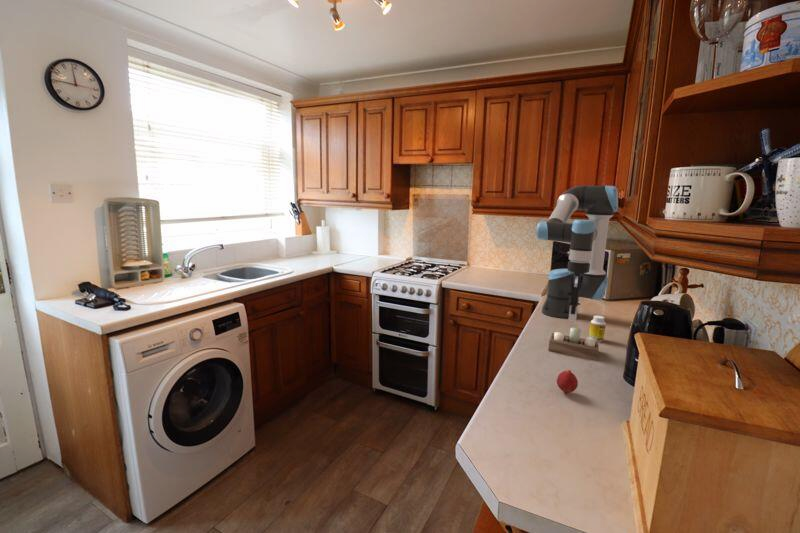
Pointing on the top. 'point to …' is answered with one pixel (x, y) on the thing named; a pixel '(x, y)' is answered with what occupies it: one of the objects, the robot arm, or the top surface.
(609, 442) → the top surface
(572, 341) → the pale green egg
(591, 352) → the socket block
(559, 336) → the cream egg
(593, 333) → the supplement bottle
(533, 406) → the top surface
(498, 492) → the top surface
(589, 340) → the white egg
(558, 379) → the onion
